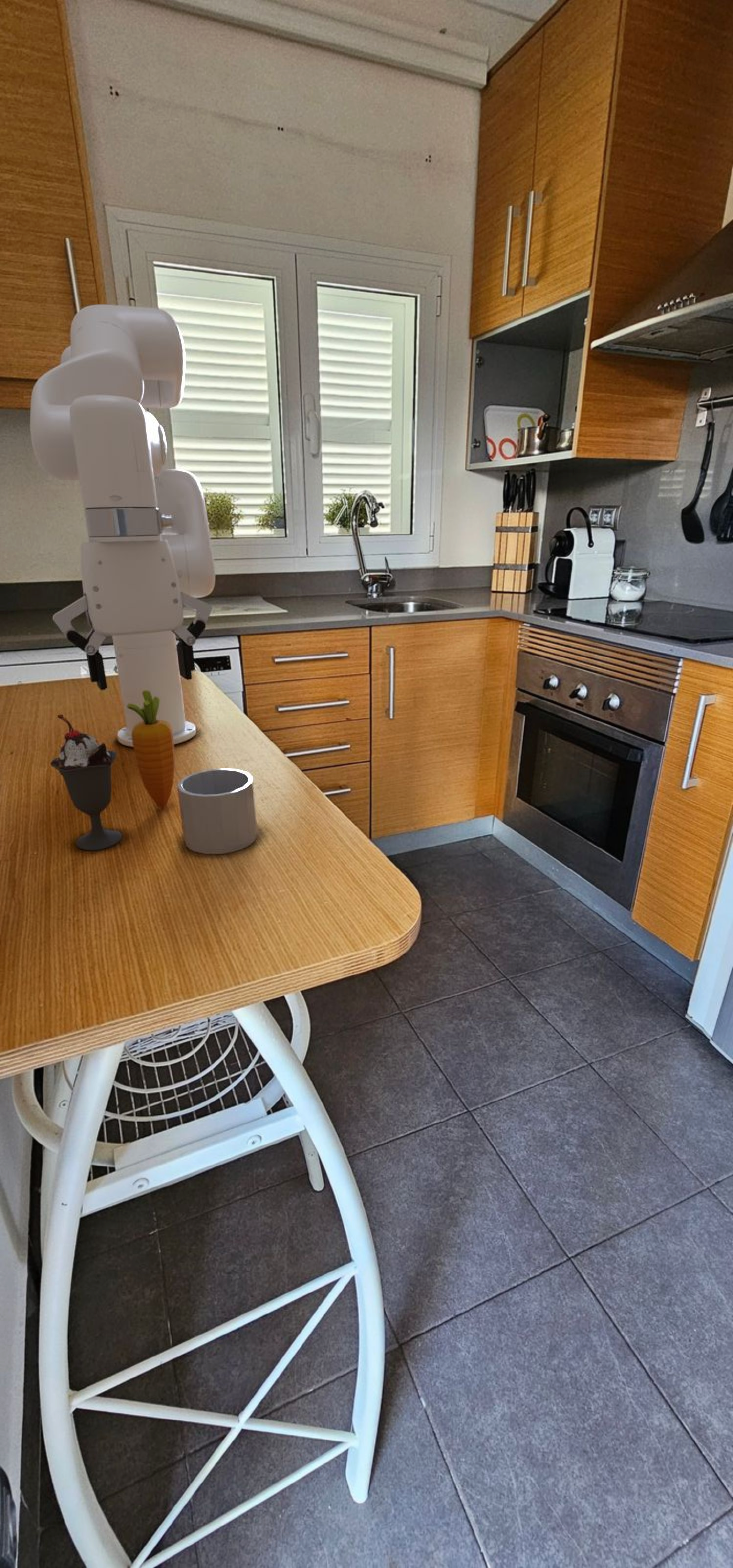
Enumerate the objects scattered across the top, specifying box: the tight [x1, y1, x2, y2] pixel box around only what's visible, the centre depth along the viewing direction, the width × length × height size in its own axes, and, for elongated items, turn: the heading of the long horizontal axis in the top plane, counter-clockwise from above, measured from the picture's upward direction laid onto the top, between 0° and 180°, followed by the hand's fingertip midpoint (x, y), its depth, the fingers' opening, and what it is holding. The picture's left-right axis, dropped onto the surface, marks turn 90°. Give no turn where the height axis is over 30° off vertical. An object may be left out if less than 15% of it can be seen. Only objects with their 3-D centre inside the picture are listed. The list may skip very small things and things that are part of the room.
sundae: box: [50, 714, 123, 851], centre depth 75 cm, size 7×7×15 cm
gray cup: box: [176, 767, 258, 855], centre depth 77 cm, size 8×8×7 cm
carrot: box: [127, 690, 176, 809], centre depth 83 cm, size 5×5×15 cm
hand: (145, 682), depth 80 cm, fingers open, 9 cm apart
